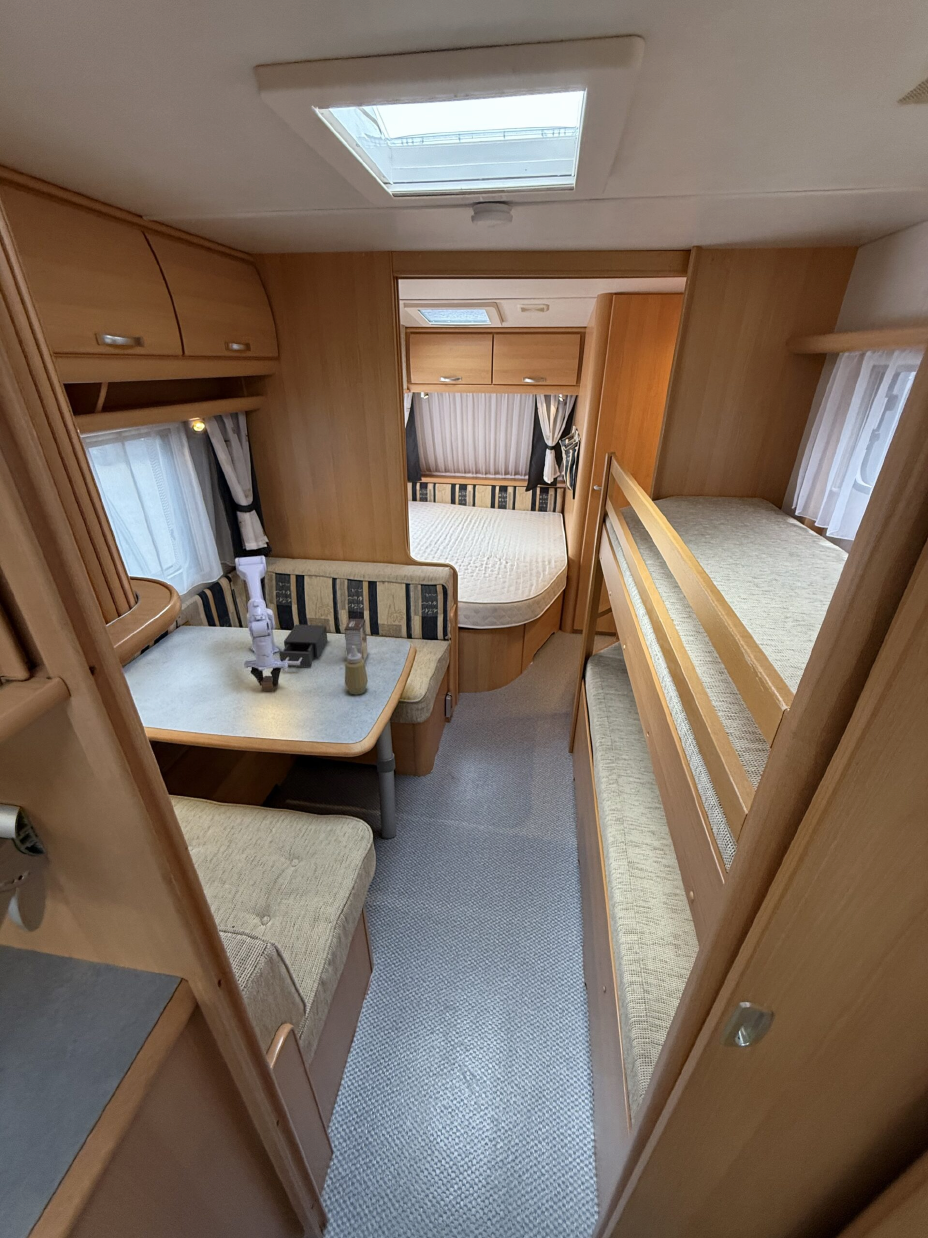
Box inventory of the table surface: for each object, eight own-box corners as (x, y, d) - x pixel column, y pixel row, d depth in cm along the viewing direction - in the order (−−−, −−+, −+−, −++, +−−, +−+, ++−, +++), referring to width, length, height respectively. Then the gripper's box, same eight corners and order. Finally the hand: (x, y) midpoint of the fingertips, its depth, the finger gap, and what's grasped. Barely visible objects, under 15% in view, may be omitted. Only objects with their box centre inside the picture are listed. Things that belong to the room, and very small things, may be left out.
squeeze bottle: (363, 681, 182) (360, 639, 174) (372, 692, 176) (369, 648, 168) (342, 688, 178) (338, 644, 170) (350, 699, 172) (346, 654, 164)
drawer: (307, 673, 184) (305, 659, 182) (276, 671, 184) (274, 658, 182) (320, 649, 200) (319, 636, 198) (292, 648, 200) (291, 635, 198)
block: (273, 691, 174) (271, 682, 172) (262, 691, 174) (260, 681, 172) (277, 685, 178) (275, 675, 176) (266, 684, 178) (264, 675, 176)
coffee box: (352, 653, 200) (349, 618, 193) (368, 654, 200) (365, 618, 193) (346, 665, 192) (344, 628, 184) (363, 666, 192) (361, 629, 184)
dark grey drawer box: (317, 659, 195) (315, 642, 191) (286, 658, 195) (283, 641, 191) (327, 641, 208) (326, 625, 205) (297, 640, 208) (295, 624, 205)
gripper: (237, 656, 166) (244, 690, 172) (280, 658, 166) (285, 692, 172) (246, 646, 172) (252, 679, 178) (287, 648, 172) (292, 680, 178)
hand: (269, 684), depth 175 cm, fingers open, 4 cm apart
